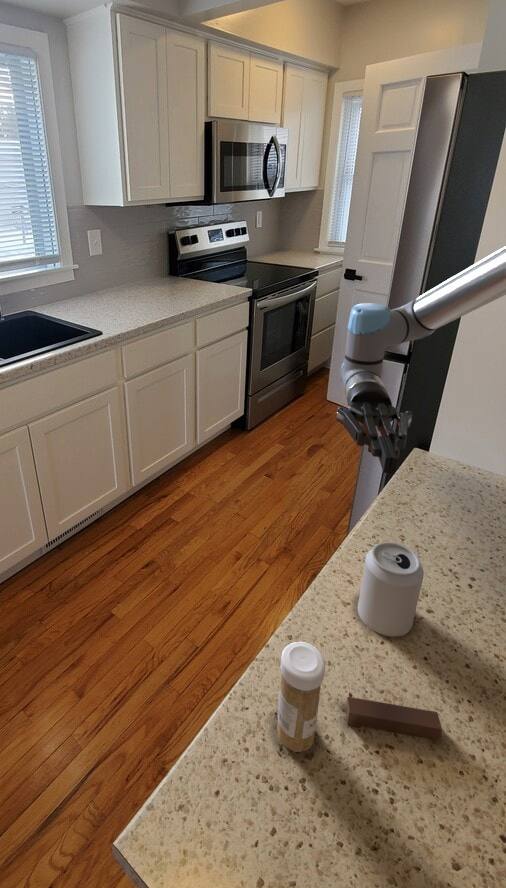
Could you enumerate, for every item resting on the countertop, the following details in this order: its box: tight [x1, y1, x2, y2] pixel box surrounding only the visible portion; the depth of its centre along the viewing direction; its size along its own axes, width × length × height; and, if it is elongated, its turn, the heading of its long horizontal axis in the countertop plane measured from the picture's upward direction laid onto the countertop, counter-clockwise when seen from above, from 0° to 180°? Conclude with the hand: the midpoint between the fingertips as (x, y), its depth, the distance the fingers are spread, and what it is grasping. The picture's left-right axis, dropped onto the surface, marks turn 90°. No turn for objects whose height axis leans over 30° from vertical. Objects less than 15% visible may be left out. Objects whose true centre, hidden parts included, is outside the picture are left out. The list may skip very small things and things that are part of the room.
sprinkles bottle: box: [276, 641, 326, 753], centre depth 54 cm, size 5×5×14 cm
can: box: [357, 541, 425, 638], centre depth 69 cm, size 8×8×12 cm
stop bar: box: [344, 696, 443, 742], centre depth 57 cm, size 10×2×3 cm, turn 79°
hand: (390, 465), depth 73 cm, fingers closed
